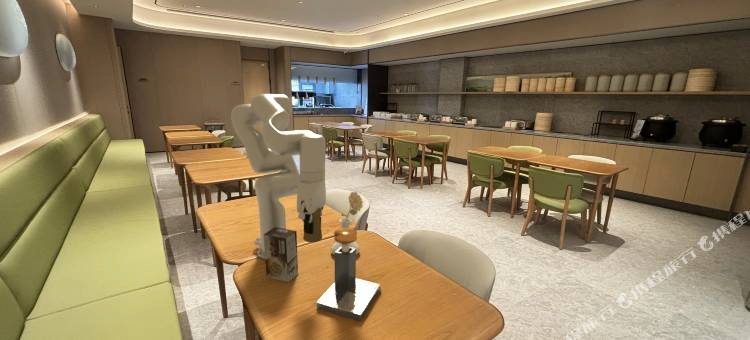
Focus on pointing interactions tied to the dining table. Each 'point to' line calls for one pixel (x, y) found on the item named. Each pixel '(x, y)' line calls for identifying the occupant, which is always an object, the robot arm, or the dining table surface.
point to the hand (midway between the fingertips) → (312, 229)
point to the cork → (314, 228)
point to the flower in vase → (345, 222)
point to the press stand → (348, 289)
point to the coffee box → (281, 254)
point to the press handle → (345, 237)
